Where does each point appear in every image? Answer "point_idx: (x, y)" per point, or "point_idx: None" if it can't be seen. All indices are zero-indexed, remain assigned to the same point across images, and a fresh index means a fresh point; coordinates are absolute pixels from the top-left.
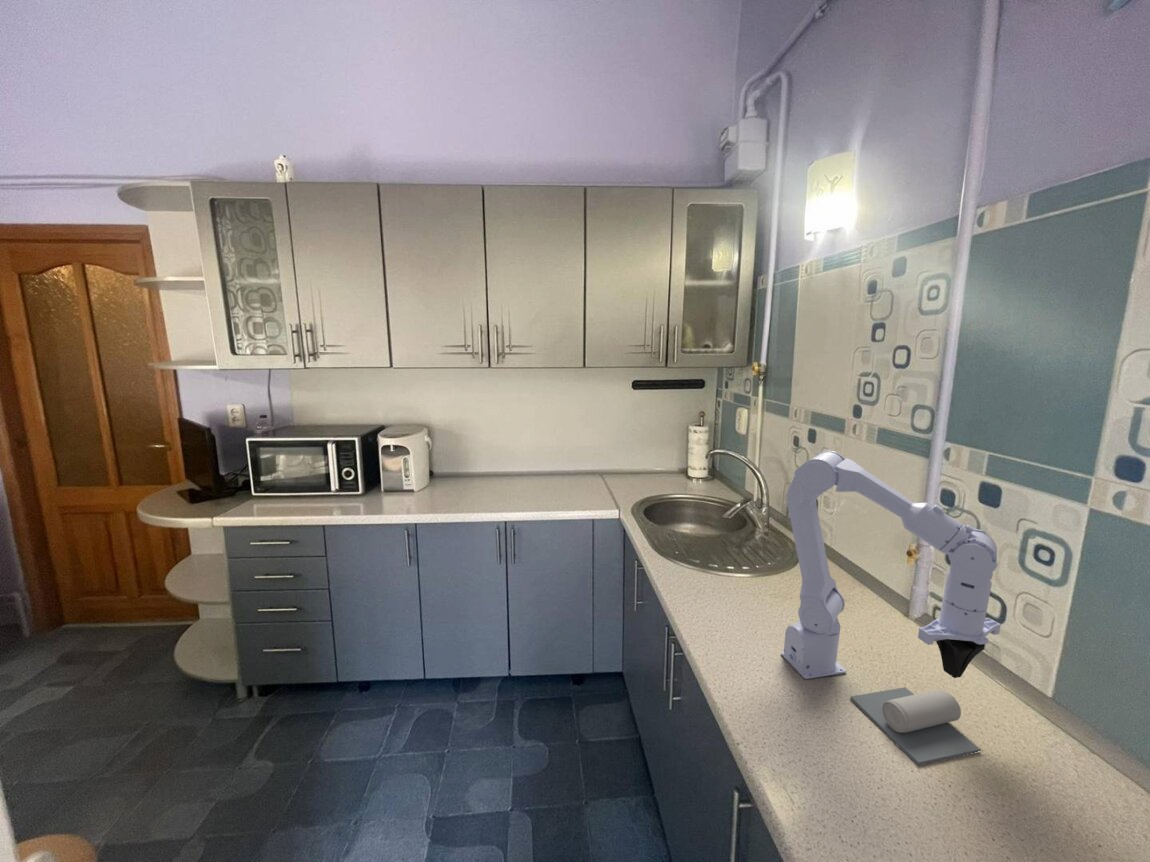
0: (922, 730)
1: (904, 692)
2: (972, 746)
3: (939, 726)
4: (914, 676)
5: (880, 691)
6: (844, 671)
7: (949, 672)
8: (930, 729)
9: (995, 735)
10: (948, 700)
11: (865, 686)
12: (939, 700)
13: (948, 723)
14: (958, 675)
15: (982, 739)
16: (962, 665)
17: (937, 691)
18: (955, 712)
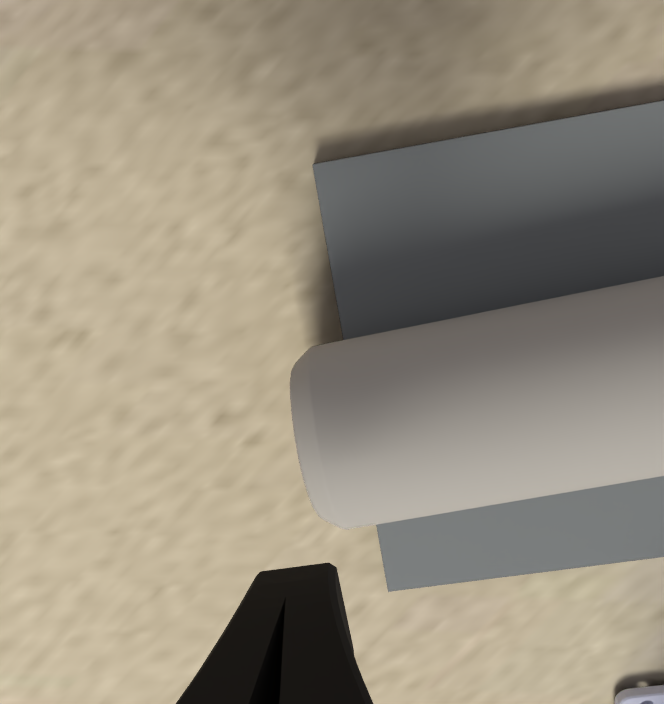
0: None
1: (424, 558)
2: (347, 185)
3: None
4: None
5: (554, 570)
6: (636, 696)
7: (344, 621)
8: None
9: (125, 278)
10: (376, 426)
11: (582, 607)
12: (454, 424)
13: None
14: (294, 581)
15: (223, 253)
16: (285, 680)
17: (389, 504)
18: (352, 358)
